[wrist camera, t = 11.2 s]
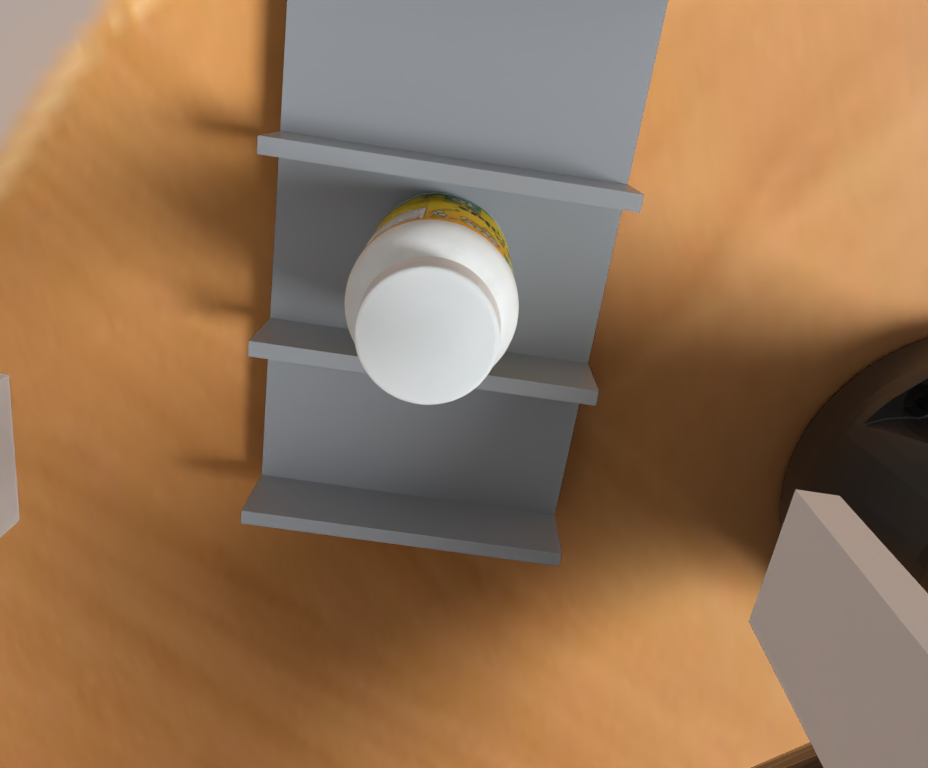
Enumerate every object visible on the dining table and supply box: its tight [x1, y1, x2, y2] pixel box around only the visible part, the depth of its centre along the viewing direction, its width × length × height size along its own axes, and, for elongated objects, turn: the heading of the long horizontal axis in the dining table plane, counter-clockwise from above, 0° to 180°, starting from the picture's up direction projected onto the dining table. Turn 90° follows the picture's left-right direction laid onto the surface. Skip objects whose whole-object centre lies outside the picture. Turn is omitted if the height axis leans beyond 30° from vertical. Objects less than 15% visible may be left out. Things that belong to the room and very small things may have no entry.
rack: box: [241, 0, 668, 566], centre depth 28 cm, size 13×22×4 cm, turn 172°
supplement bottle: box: [344, 192, 519, 405], centre depth 25 cm, size 5×5×10 cm
